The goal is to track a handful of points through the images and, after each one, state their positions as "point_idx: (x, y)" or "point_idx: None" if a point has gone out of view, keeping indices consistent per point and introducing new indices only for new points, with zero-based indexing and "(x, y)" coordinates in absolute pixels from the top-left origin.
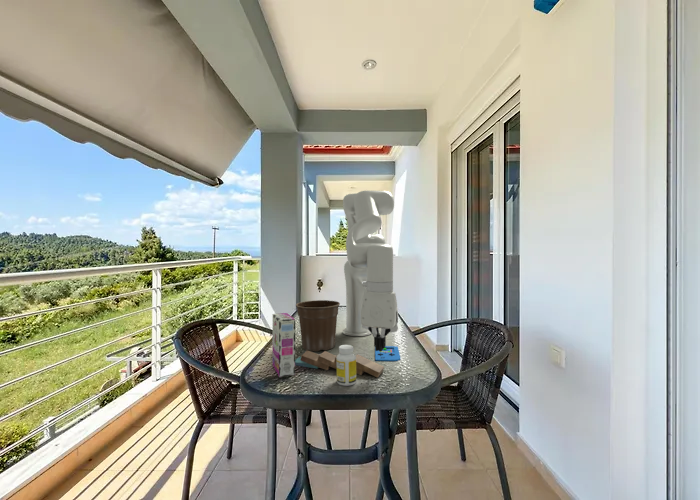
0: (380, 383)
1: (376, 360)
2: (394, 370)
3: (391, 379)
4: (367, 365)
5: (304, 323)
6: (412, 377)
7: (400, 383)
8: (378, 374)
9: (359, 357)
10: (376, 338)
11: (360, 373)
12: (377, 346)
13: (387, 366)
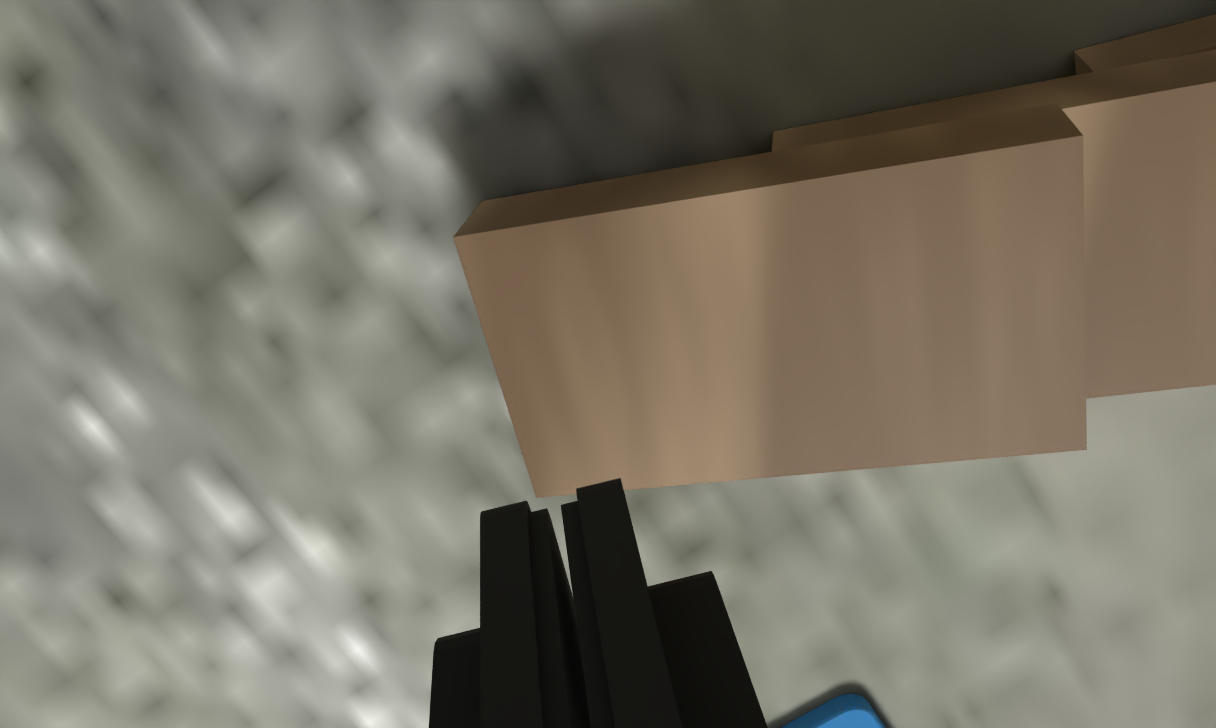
0: (301, 25)
1: (846, 700)
2: (444, 581)
3: (265, 282)
4: (719, 248)
5: None
6: (69, 530)
7: (44, 232)
8: (468, 223)
9: (991, 375)
10: (641, 719)
11: (790, 134)
12: (579, 558)
13: None
